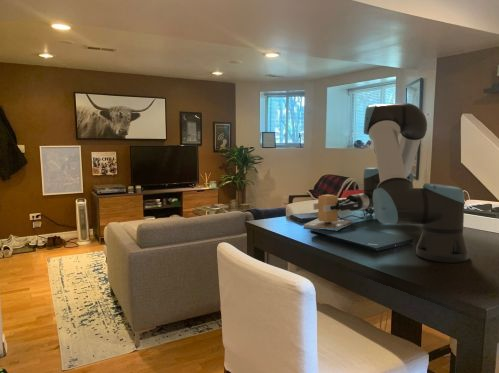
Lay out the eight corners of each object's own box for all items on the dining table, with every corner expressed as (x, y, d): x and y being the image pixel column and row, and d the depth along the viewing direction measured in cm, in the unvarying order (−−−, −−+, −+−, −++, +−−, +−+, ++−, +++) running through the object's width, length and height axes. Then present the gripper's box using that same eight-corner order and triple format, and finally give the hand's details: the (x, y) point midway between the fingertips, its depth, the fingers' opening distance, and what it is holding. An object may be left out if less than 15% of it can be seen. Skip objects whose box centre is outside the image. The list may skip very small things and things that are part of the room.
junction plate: (338, 231, 154) (338, 221, 154) (303, 227, 164) (303, 217, 163) (351, 224, 167) (351, 214, 167) (319, 220, 176) (319, 211, 176)
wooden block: (337, 220, 164) (337, 195, 163) (327, 222, 161) (327, 196, 160) (328, 218, 169) (328, 194, 168) (318, 220, 166) (318, 195, 165)
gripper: (372, 212, 165) (333, 219, 154) (342, 207, 182) (305, 212, 170) (372, 196, 164) (333, 201, 153) (342, 192, 181) (305, 196, 170)
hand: (318, 207), depth 162 cm, fingers closed on wooden block, 6 cm apart
